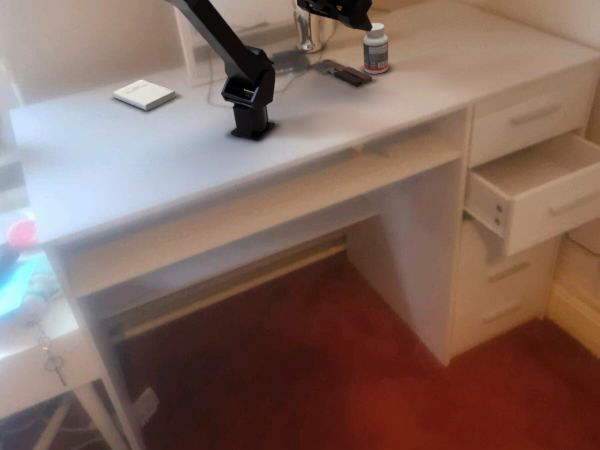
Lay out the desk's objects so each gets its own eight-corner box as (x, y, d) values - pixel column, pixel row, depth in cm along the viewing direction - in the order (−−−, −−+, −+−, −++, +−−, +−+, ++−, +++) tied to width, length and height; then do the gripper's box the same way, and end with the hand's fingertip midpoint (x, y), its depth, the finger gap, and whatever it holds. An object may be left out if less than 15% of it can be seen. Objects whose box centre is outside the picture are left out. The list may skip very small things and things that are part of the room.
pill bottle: (363, 65, 137) (362, 22, 131) (387, 63, 136) (387, 20, 130) (364, 75, 132) (363, 31, 126) (389, 73, 132) (388, 29, 126)
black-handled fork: (364, 83, 129) (364, 80, 128) (354, 87, 128) (354, 83, 127) (320, 63, 140) (320, 59, 139) (311, 66, 139) (310, 63, 138)
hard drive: (146, 112, 128) (114, 98, 136) (176, 97, 133) (143, 84, 140) (144, 105, 127) (112, 91, 135) (175, 90, 132) (142, 78, 139)
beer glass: (321, 53, 144) (316, -11, 135) (293, 54, 146) (286, -10, 137) (326, 42, 150) (321, -20, 141) (298, 43, 151) (292, -19, 142)
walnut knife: (372, 80, 130) (372, 76, 129) (365, 83, 129) (364, 79, 128) (327, 60, 141) (327, 56, 140) (320, 62, 140) (320, 58, 140)
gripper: (363, -50, 107) (408, -2, 118) (303, -63, 119) (349, -19, 131) (330, 7, 108) (378, 48, 119) (274, -13, 121) (322, 27, 132)
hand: (356, 24), depth 125 cm, fingers open, 9 cm apart
